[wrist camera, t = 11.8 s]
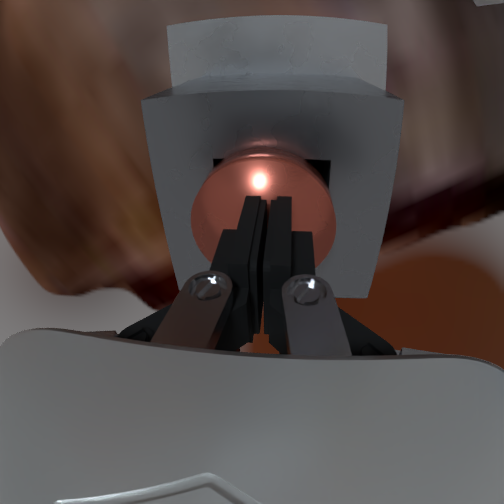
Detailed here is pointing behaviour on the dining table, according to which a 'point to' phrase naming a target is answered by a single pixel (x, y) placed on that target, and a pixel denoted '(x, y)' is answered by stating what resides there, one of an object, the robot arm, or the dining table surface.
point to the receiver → (280, 125)
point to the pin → (263, 197)
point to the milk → (487, 2)
